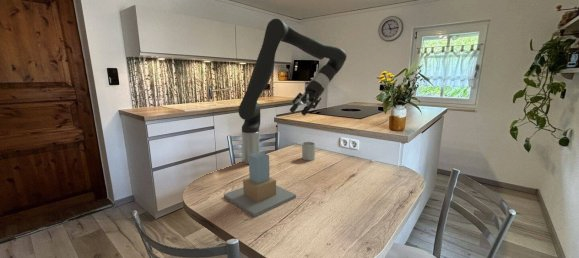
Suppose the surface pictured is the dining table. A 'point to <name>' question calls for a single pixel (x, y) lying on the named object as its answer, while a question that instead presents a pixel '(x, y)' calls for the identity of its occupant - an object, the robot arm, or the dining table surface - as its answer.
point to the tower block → (259, 167)
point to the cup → (308, 151)
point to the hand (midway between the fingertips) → (296, 113)
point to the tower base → (259, 205)
